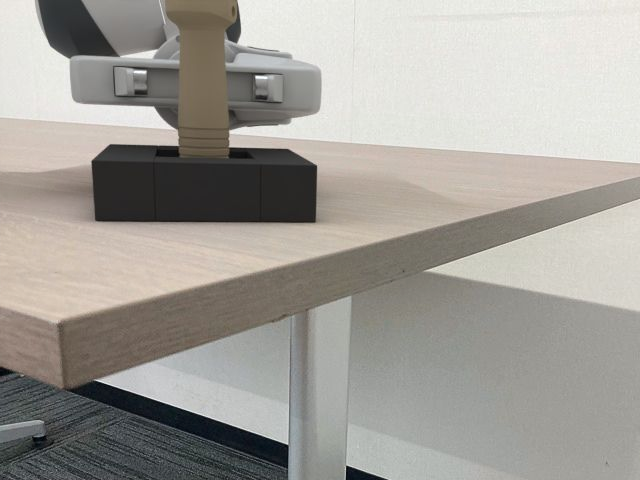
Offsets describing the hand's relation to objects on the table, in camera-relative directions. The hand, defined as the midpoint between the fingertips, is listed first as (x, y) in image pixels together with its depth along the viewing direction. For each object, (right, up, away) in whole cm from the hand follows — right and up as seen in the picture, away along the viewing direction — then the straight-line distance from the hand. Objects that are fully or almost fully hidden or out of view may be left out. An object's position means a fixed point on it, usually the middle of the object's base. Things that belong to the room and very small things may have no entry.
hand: (202, 85), depth 58 cm
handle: (0, -9, +3) cm, 9 cm away
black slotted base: (0, -8, +3) cm, 9 cm away
